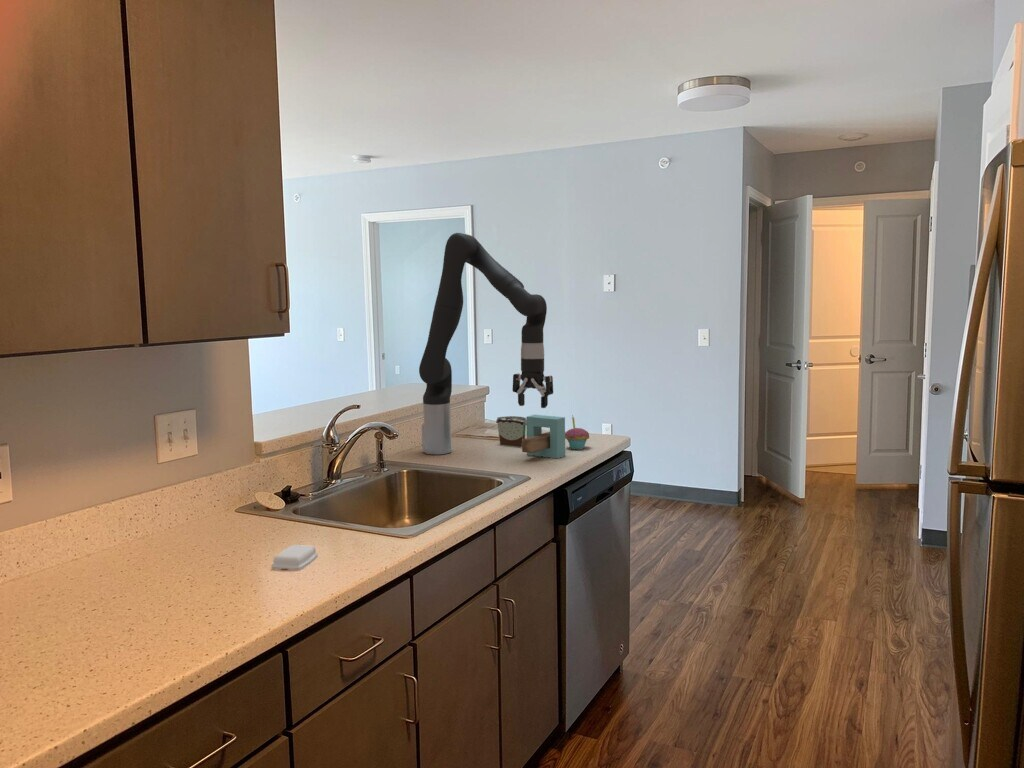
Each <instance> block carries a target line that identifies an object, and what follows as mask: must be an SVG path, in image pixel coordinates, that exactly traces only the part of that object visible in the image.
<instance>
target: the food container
mask: <svg viewBox="0 0 1024 768" xmlns="http://www.w3.org/2000/svg"><path fill="white" fill-rule="evenodd" d="M495 423H496V424H497V429H498V438H499V446H502V445H504V447H511V446H513V447H514V448H520V447H522V440H523V439H526V431H527V421H526V416H525V417H524V416H519V415H518V416H512V415H511V416H510V415H509V416H499V417H497V418H496V420H495ZM513 447H512V448H513Z"/></svg>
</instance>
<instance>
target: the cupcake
mask: <svg viewBox="0 0 1024 768" xmlns="http://www.w3.org/2000/svg"><path fill="white" fill-rule="evenodd" d="M571 419H572V426H573V427H572V428H570V429H568V430H566V431H565V440H567V442H568V444H569V448H570V449H571V448H572V449H571V450H575V449H579V450H583V448H585V446H586V443H587V440H588V439H590V433H589V431H588V430H586V429H584V428H581V427H576V424H575V417H574V415H573V414H572V417H571Z"/></svg>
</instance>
